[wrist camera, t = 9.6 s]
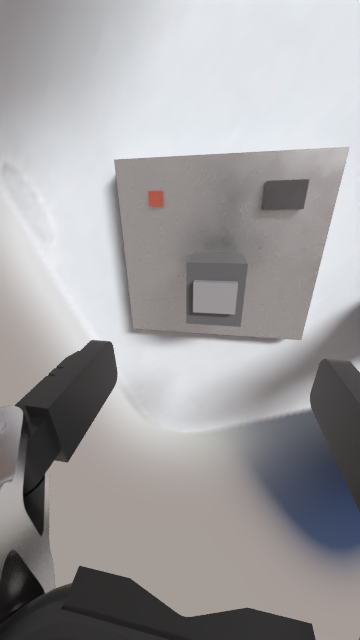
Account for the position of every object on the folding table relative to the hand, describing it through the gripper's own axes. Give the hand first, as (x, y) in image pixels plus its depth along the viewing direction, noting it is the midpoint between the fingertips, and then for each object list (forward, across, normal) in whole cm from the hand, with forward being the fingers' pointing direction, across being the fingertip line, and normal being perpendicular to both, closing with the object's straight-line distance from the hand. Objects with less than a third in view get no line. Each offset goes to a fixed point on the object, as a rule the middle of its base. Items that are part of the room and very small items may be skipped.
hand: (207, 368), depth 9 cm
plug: (+16, 0, 0) cm, 16 cm away
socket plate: (+16, 0, -2) cm, 16 cm away
